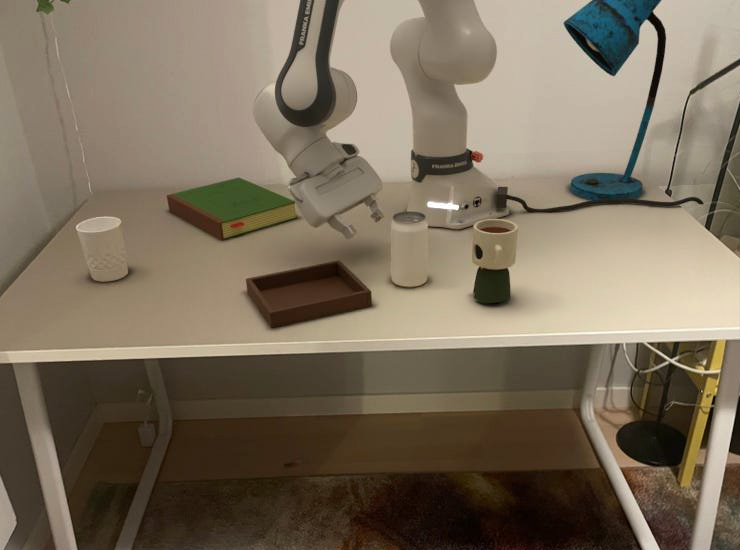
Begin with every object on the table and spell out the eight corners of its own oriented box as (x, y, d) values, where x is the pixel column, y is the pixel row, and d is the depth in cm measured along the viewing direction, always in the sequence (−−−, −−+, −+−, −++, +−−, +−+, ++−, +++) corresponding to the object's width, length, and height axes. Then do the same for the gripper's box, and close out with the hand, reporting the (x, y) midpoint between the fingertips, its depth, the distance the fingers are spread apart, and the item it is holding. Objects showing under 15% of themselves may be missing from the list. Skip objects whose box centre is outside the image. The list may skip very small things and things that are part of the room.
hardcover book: (169, 211, 170) (166, 195, 168) (240, 192, 180) (238, 177, 178) (223, 241, 153) (221, 224, 151) (299, 219, 163) (297, 202, 161)
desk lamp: (540, 183, 179) (558, -28, 156) (629, 177, 180) (660, -33, 157) (560, 205, 165) (583, -23, 142) (657, 199, 166) (695, -28, 143)
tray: (340, 274, 137) (339, 260, 136) (371, 306, 126) (371, 291, 124) (247, 293, 132) (245, 278, 130) (271, 328, 120) (269, 312, 119)
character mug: (467, 285, 131) (469, 214, 125) (507, 284, 131) (512, 213, 124) (473, 314, 122) (477, 239, 115) (517, 313, 122) (523, 238, 115)
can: (424, 289, 131) (425, 224, 124) (388, 287, 132) (387, 222, 126) (429, 274, 136) (430, 210, 130) (394, 272, 137) (393, 209, 131)
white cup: (92, 287, 136) (79, 235, 131) (85, 271, 142) (72, 221, 137) (135, 277, 139) (125, 226, 134) (126, 263, 145) (116, 213, 140)
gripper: (292, 171, 124) (344, 237, 124) (360, 142, 139) (406, 201, 139) (274, 193, 128) (324, 257, 129) (341, 162, 143) (385, 220, 143)
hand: (367, 227), depth 134 cm, fingers open, 8 cm apart
